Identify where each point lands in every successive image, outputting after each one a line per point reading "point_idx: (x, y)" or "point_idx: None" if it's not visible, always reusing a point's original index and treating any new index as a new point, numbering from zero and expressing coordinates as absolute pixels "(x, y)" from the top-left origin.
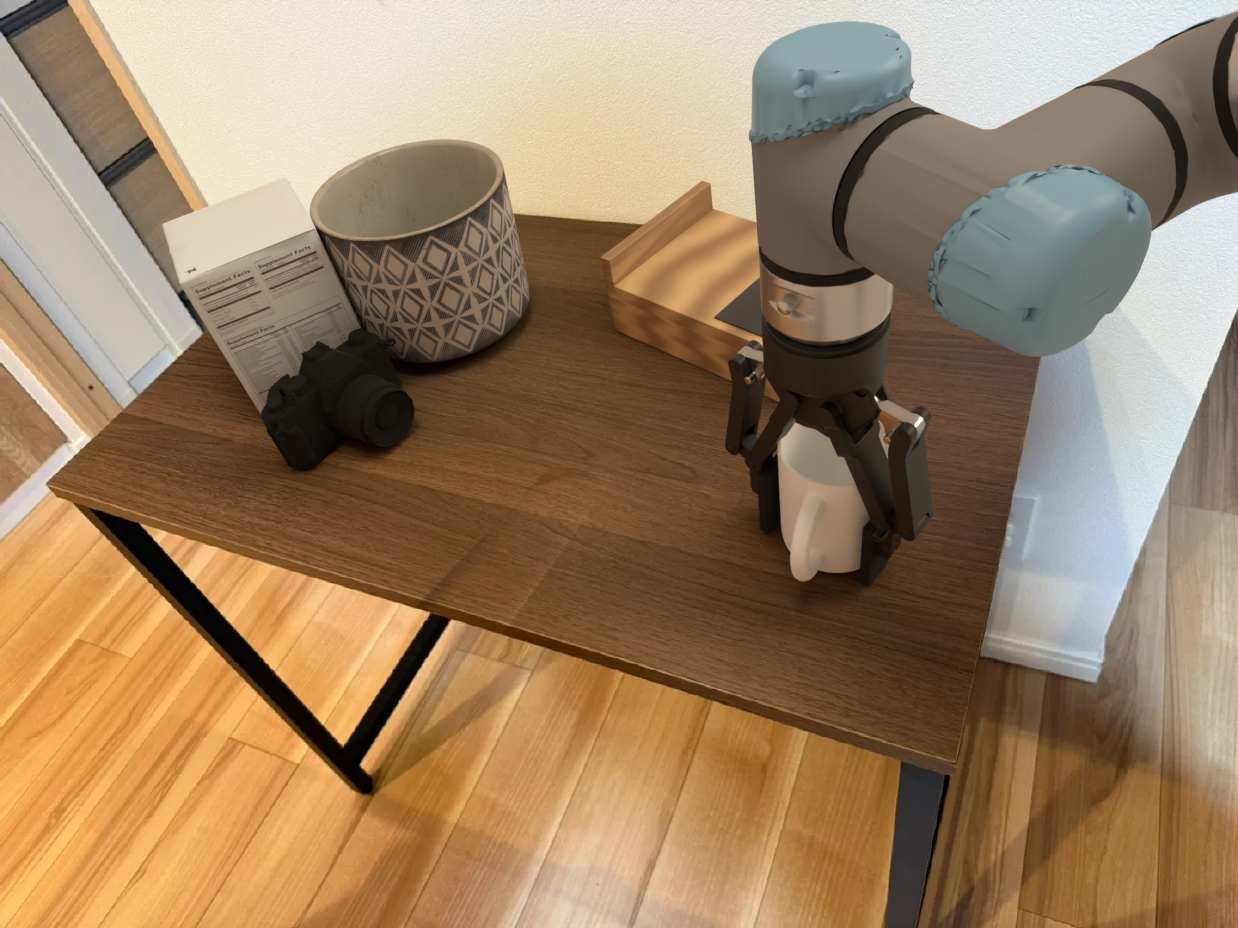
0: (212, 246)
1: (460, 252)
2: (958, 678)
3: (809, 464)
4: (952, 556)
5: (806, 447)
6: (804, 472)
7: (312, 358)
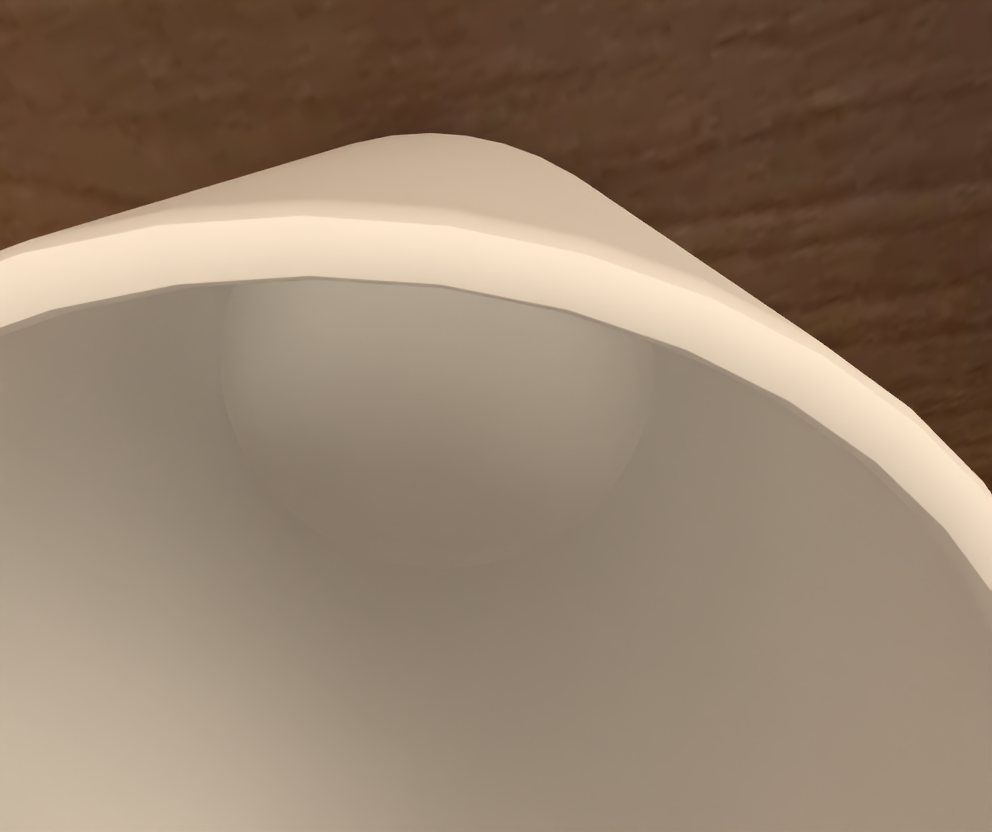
0: None
1: None
2: None
3: (152, 304)
4: (922, 285)
5: (51, 381)
6: (156, 320)
7: None
